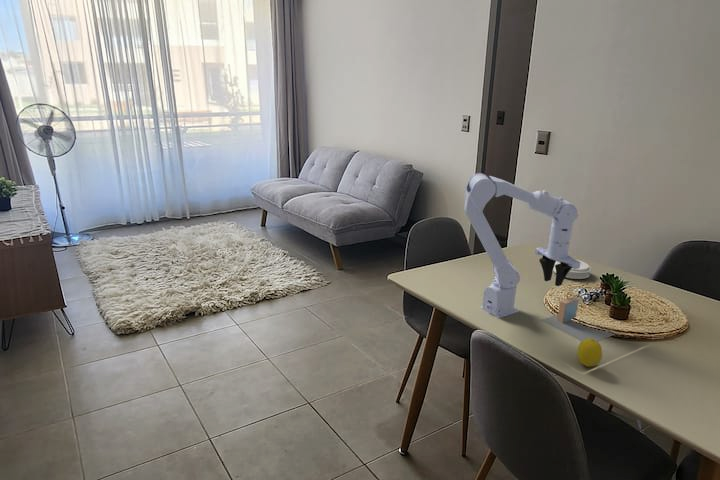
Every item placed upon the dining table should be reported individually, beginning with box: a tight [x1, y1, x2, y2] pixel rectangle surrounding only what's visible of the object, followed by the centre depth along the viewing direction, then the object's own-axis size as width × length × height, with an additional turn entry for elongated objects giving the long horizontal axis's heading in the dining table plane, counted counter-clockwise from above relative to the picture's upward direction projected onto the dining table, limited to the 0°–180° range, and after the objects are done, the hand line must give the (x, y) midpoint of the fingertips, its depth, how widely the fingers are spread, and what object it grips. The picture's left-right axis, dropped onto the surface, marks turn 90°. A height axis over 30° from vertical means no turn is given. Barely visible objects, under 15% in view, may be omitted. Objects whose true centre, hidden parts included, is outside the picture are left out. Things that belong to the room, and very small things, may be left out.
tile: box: [557, 296, 580, 323], centre depth 138 cm, size 6×2×6 cm, turn 119°
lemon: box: [576, 338, 603, 367], centre depth 115 cm, size 6×6×8 cm
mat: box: [541, 314, 616, 343], centre depth 135 cm, size 12×16×1 cm
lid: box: [553, 259, 591, 280], centre depth 173 cm, size 13×13×5 cm
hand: (552, 282), depth 141 cm, fingers open, 3 cm apart
